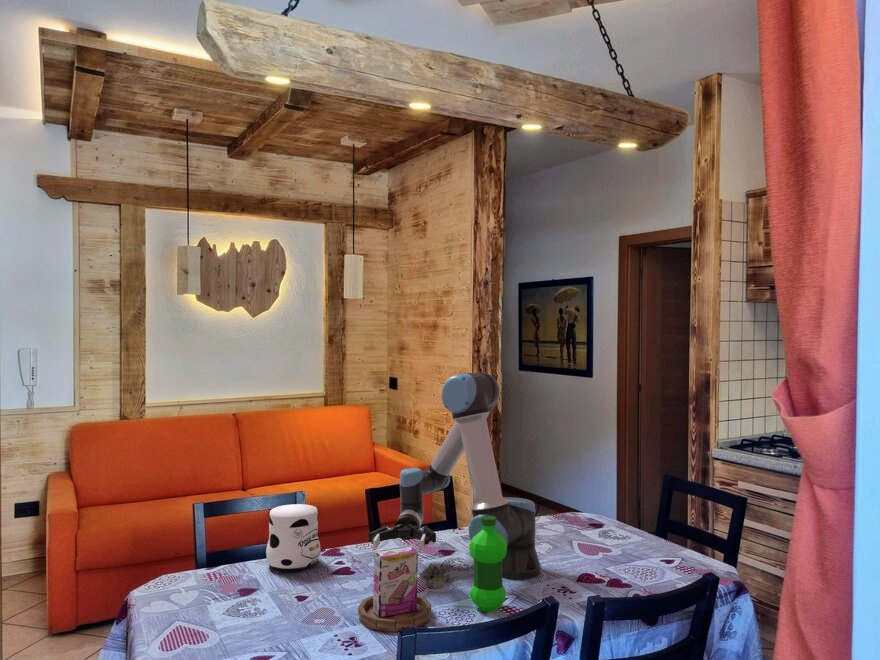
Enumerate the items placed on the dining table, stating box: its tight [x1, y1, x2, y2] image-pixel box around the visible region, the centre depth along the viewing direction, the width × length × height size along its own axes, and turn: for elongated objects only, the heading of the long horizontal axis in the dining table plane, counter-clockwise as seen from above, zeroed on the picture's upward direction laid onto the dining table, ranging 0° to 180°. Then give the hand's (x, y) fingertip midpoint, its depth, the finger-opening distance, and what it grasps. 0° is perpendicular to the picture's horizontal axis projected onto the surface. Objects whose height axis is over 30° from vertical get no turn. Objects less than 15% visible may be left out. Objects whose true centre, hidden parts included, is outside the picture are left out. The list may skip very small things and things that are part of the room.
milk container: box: [265, 503, 321, 571], centre depth 218 cm, size 17×17×18 cm
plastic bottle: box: [468, 516, 507, 613], centre depth 185 cm, size 10×10×25 cm
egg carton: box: [419, 563, 451, 589], centre depth 204 cm, size 11×8×4 cm
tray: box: [357, 594, 432, 633], centre depth 179 cm, size 19×19×3 cm
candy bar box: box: [372, 546, 419, 618], centre depth 179 cm, size 11×5×16 cm, turn 117°
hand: (398, 545), depth 190 cm, fingers open, 13 cm apart
